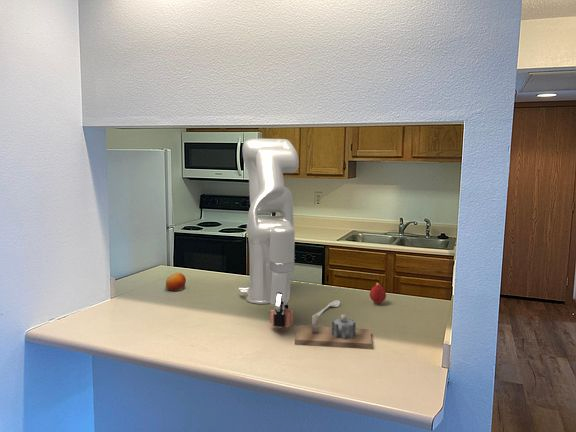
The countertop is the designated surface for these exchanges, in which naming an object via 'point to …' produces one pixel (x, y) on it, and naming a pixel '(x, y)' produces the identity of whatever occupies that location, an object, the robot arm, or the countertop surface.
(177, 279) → the fruit
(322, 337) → the gear board
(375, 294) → the onion
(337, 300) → the spoon
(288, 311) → the pink gear
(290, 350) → the countertop surface
